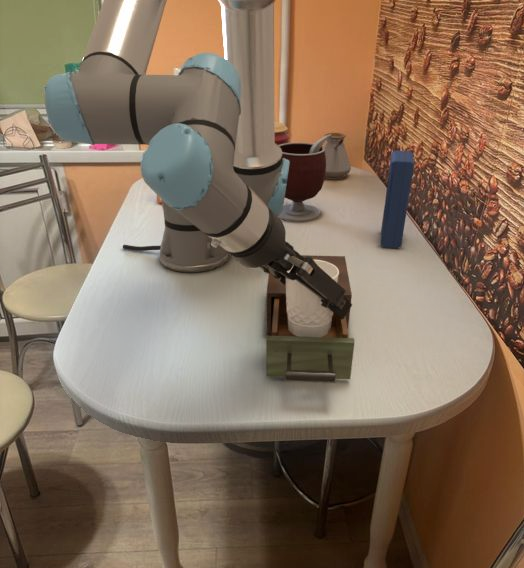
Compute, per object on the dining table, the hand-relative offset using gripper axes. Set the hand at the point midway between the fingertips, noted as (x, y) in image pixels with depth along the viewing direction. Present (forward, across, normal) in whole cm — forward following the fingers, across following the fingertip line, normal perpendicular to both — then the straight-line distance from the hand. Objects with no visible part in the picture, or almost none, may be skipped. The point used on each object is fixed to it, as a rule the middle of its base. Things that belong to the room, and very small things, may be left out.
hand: (324, 301), depth 84 cm
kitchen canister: (+53, -84, +39) cm, 106 cm away
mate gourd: (+39, -50, +25) cm, 68 cm away
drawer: (+3, +1, -10) cm, 10 cm away
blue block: (+41, -22, +27) cm, 54 cm away
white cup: (0, 0, -5) cm, 5 cm away
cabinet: (+12, -10, -2) cm, 16 cm away
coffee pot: (+60, -64, +46) cm, 99 cm away
